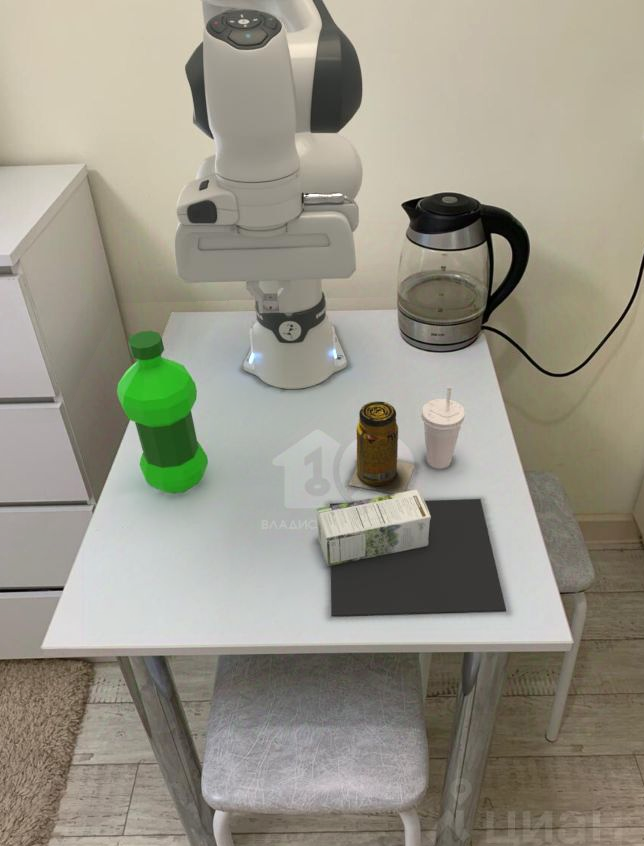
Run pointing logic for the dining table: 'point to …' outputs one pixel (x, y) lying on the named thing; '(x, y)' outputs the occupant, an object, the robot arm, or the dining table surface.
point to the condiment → (379, 451)
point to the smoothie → (441, 429)
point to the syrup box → (373, 527)
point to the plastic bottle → (162, 415)
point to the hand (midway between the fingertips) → (271, 310)
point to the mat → (426, 570)
